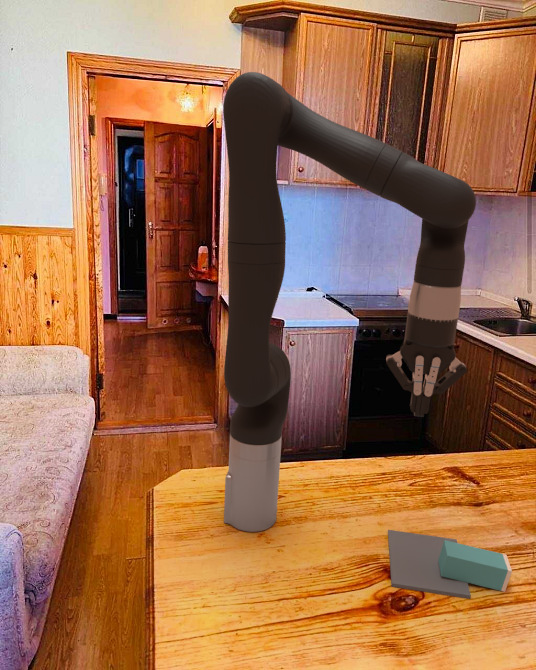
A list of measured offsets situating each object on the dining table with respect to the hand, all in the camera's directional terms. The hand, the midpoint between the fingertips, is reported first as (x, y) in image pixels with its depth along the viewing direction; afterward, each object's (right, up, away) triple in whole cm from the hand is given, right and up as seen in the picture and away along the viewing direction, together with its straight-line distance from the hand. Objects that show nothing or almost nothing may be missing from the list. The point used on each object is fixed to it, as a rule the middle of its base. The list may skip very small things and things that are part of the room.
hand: (418, 414), depth 92 cm
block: (+4, -23, 0) cm, 24 cm away
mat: (+2, -25, +3) cm, 26 cm away
